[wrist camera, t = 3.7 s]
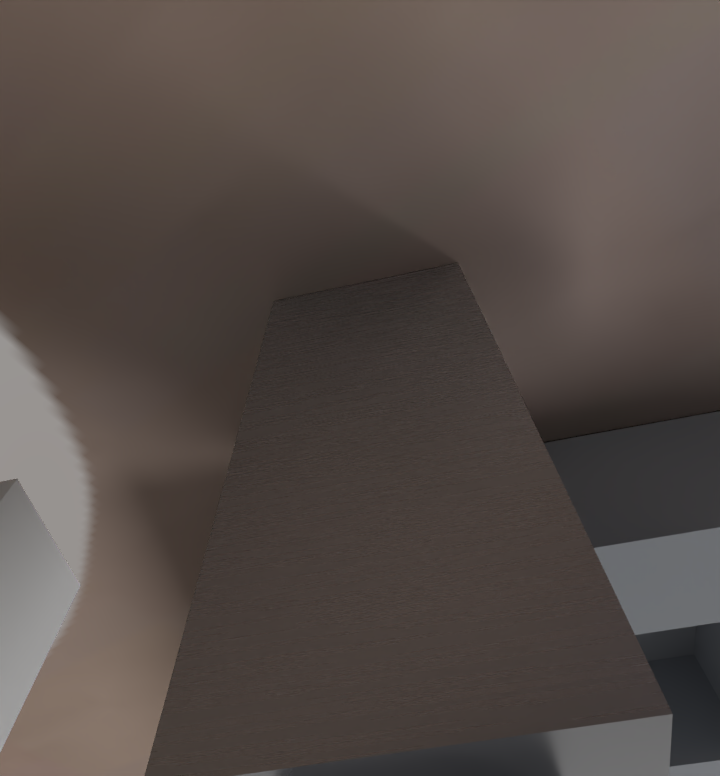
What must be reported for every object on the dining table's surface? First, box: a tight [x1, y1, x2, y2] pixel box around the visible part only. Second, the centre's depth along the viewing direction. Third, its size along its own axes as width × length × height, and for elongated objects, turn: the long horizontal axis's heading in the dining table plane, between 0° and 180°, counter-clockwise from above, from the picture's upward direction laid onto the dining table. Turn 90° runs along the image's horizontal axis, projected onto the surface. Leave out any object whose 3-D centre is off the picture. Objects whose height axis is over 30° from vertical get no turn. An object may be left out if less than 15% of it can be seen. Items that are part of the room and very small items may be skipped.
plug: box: [145, 263, 673, 776], centre depth 10 cm, size 4×4×11 cm
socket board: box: [544, 411, 720, 776], centre depth 19 cm, size 20×14×4 cm
